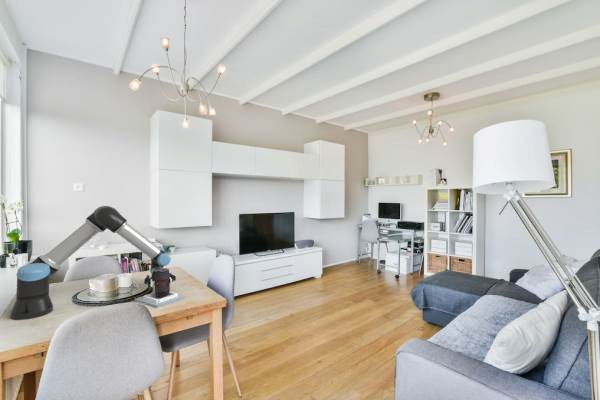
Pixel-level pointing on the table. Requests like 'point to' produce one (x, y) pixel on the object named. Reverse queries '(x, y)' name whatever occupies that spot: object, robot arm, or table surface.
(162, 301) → the board
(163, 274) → the camera lens
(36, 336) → the table surface
